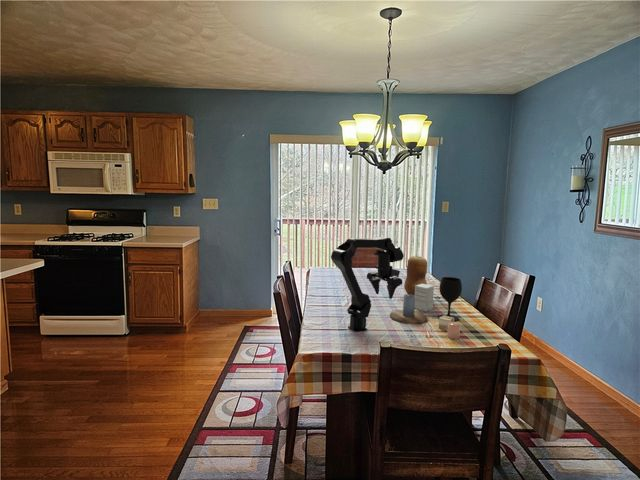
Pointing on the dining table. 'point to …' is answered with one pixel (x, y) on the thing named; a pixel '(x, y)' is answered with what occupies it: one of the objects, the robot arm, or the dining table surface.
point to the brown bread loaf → (416, 319)
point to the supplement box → (424, 297)
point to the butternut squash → (415, 273)
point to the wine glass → (450, 292)
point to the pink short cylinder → (453, 330)
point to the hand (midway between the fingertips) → (384, 296)
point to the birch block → (445, 322)
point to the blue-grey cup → (409, 305)
